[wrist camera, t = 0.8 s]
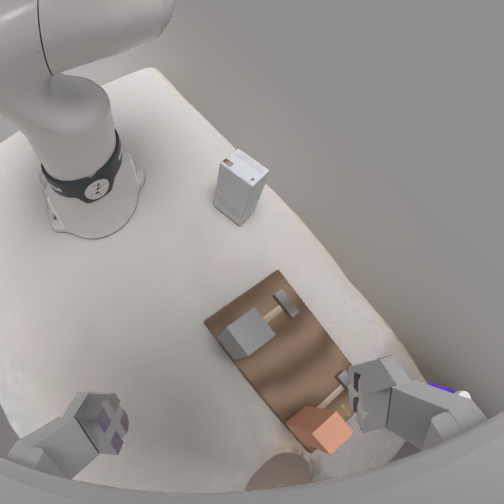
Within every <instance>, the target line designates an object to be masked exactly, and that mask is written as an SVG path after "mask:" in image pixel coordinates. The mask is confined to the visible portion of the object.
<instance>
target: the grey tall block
mask: <svg viewBox="0 0 504 504" xmlns="http://www.w3.org/2000/svg"><path fill="white" fill-rule="evenodd" d="M275 335H276V334H275V333H274V332H273V330H272V329H271V328H270V326H269V325H268V324H267V322H266V321H265V320H264V319H263V317H262V316H261V315H260V313H259V312H258V311H257V309H256V308H255V307H254V308H253V309H251V310H250V311H248V312H247V313H246V314H244V315H243V316H241V317H240V318H239V319H237V320H236V321H234V322H233V323H232V324H230V325H229V326H227V327H226V328H225V329H224V331H223V332H222V333H221V334H220V335H219V336H218V337H217V338H218V339H219V341H220V342H221V343H222V345H223V346H224V347H225V349H226V350H227V351H228V352H229V354H230V355H231V356H232V358H233V359H234V360H236V359H240V358H243V357H247V356H249V355H250V354H252V353H253V352H254V351H256V350H257V349H258V348H260V347H261V346H262V345H263V344H265V343H266V342H267V341H269V340H270V339H271V338H273V337H274V336H275Z"/></svg>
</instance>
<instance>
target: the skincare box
mask: <svg viewBox="0 0 504 504" xmlns="http://www.w3.org/2000/svg"><path fill="white" fill-rule="evenodd" d="M268 174H269V170H268V169H267V168H265V167H263V166H262V165H261V164H259V163H258V162H257V161H255V160H254V159H252V158H251V157H250V156H248V155H247V154H245V153H244V152H243V151H241V150H240V149H236V150H235V151H234V152H233V153H232V154H231V155H229V156H228V157H227V158H226V159H225V160H223V161H222V162H221V163H220V168H219V175H218V181H217V188H216V195H215V201H214V206H215V207H216V208H217V209H219V210H220V211H221V212H223V213H224V214H225V215H226V216H228V217H229V218H230V219H231V220H233V221H234V222H235V223H236V224H238V225H239V226H241V225H242V224H243V223H244V222H245V221H246V220H247V219H248V218H249V217H250V216H251V215H252V214H253V212H254V211H255V208H256V205H257V203H258V200H259V198H260V195H261V192H262V190H263V187H264V185H265V182H266V179H267V177H268Z"/></svg>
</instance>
